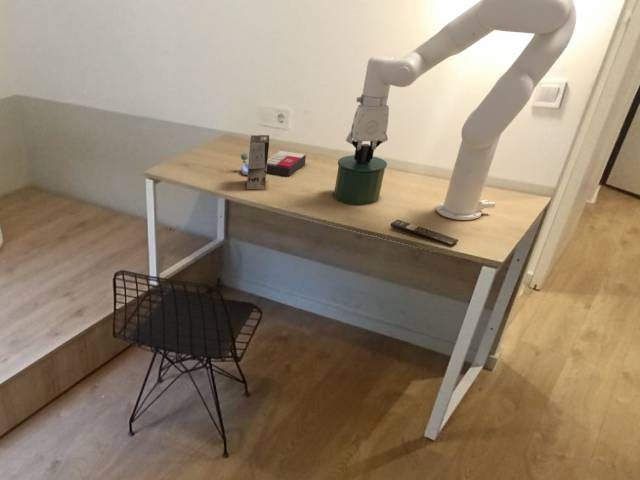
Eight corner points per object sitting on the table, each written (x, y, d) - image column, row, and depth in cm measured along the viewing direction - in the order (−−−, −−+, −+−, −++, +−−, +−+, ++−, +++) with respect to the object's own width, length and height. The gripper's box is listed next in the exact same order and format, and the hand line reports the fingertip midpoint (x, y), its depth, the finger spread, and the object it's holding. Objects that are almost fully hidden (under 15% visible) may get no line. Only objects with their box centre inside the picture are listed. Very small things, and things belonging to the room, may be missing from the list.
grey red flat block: (261, 162, 228) (279, 148, 237) (261, 173, 231) (278, 160, 239) (289, 166, 222) (306, 153, 231) (288, 178, 225) (305, 164, 234)
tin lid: (379, 158, 206) (383, 137, 202) (391, 173, 194) (396, 151, 190) (333, 159, 207) (336, 138, 203) (342, 174, 195) (346, 153, 191)
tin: (372, 188, 212) (378, 157, 205) (383, 204, 201) (390, 172, 194) (330, 189, 213) (335, 159, 207) (338, 205, 202) (344, 173, 195)
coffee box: (264, 190, 215) (269, 142, 206) (246, 189, 217) (249, 142, 207) (265, 180, 222) (269, 134, 213) (247, 180, 224) (251, 134, 214)
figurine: (238, 170, 233) (239, 152, 229) (255, 168, 233) (257, 150, 229) (243, 177, 227) (244, 158, 222) (261, 175, 227) (263, 157, 223)
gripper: (349, 104, 186) (339, 165, 197) (404, 103, 185) (391, 164, 196) (344, 98, 192) (334, 158, 203) (397, 97, 191) (385, 157, 202)
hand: (362, 161), depth 200 cm, fingers closed on tin lid, 2 cm apart
